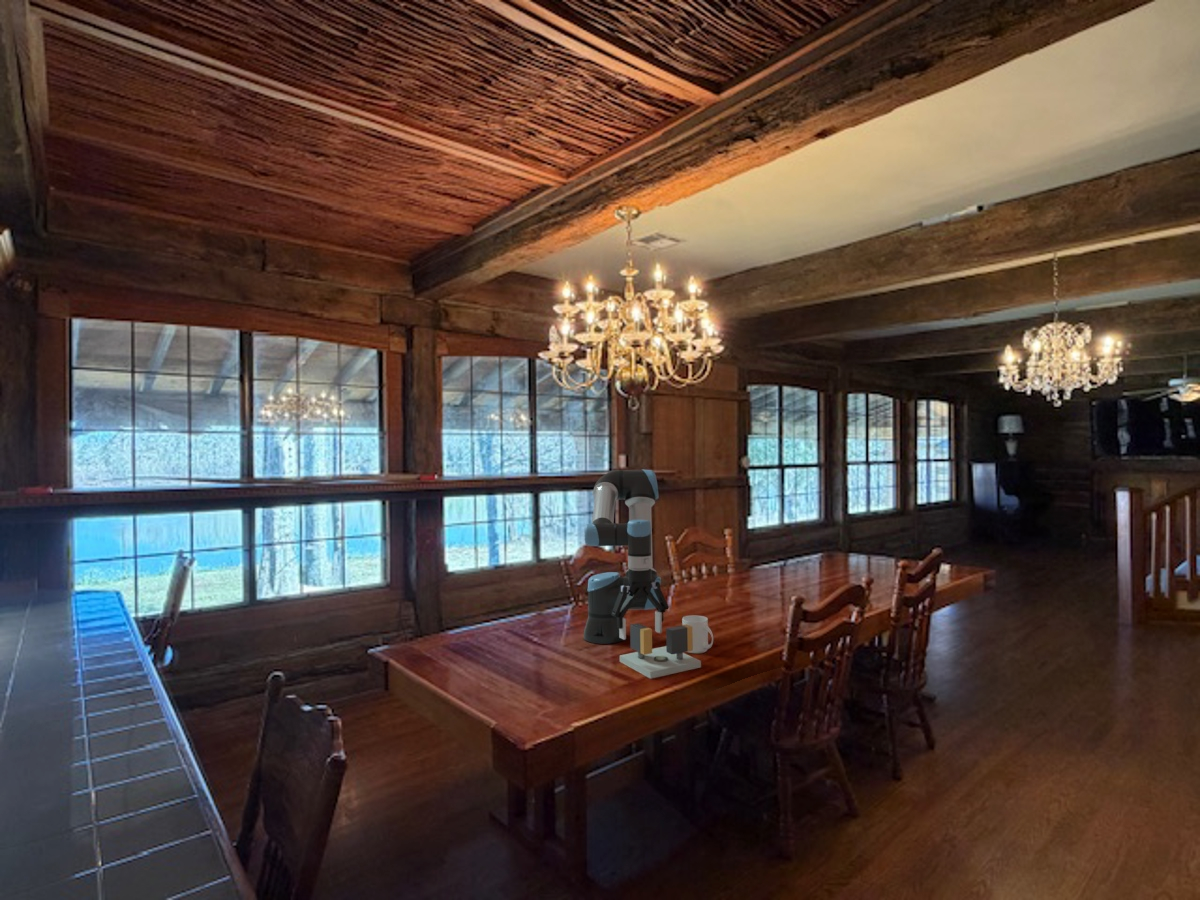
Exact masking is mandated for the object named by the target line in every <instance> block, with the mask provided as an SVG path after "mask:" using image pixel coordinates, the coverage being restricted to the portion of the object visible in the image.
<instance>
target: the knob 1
mask: <svg viewBox="0 0 1200 900" xmlns="http://www.w3.org/2000/svg"><path fill="white" fill-rule="evenodd" d="M629 629H630V631H629V633H630V636H629V639H630V641H629V642H630V643H629V644H630V648H631V649H632V650H634V651H635V652H638V658H640V659H643V658H644V655H646V654H651V653H652V649H653V629H652V628H651V627H648V626H646V625H643V624H641V623H633V624H632V623H631V624H630V625H629Z"/></svg>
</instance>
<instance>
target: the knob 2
mask: <svg viewBox="0 0 1200 900" xmlns="http://www.w3.org/2000/svg"><path fill="white" fill-rule="evenodd" d="M665 631H666V633H665V638H666V645H665V646H666V651H667V652H668V653H670V654H676V656H677V659H683V653H687V652H686V651H692V650H693V630H692V626H690V625H687V624H685V625H682V624H681V625H677V626H676V625H675V626H672V627H666V628H665Z"/></svg>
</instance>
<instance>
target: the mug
mask: <svg viewBox="0 0 1200 900" xmlns="http://www.w3.org/2000/svg"><path fill="white" fill-rule="evenodd" d="M681 621H682V623H681V625H685V624H687V625H690V626H692V630H693V650H692V651H686V652H685V653H690V654H703V653H706V652H707V651H708V650H709V649H711V648H712V646H713V643H714V635H713V632H712V630H711V628H710V627H709V619H708V617H706V616H704V615H684V616H683V617H682V619H681ZM709 635H710V636H711V642H710V643H709Z"/></svg>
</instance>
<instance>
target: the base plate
mask: <svg viewBox="0 0 1200 900" xmlns="http://www.w3.org/2000/svg"><path fill="white" fill-rule="evenodd" d="M619 662H620V663H621V664H624V665H625V666H627V667H629V668H630V669H632V670H634V671H636V672H637V673H640V674H641V675H643V676H644V677H646V678H648V679H650V680H652V679H656V678H660V677H665V676H669V675H672V674H677V673H681V672H687V671H689V670H690V671H691V670H695V669H698V668H699V669H700V668H702V661H701V660H699V659H698V658H695V657H693V656H691V655H689V654H687V653H686V652H683V659H677V656H676V654H670V653H668V652H667V651H666V645H665V646H661V647H655V648H652V653H651V654H646V655H644V658H643V659H640V658H638V651H634V652H630V653H625V654H621V655H619Z"/></svg>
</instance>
